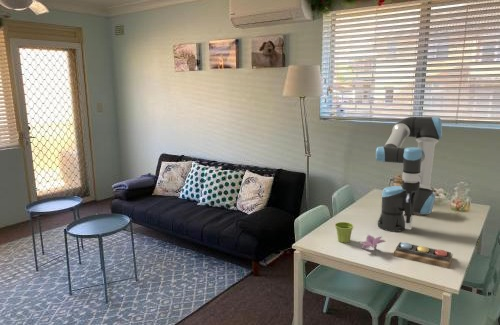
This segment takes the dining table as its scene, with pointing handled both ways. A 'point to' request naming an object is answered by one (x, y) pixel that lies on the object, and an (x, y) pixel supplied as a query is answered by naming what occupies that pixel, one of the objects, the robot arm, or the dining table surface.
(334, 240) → the dining table surface
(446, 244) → the dining table surface
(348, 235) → the plant pot
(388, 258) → the dining table surface
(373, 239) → the lily
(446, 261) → the button panel
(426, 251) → the button ochre
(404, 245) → the button blue
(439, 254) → the button red
